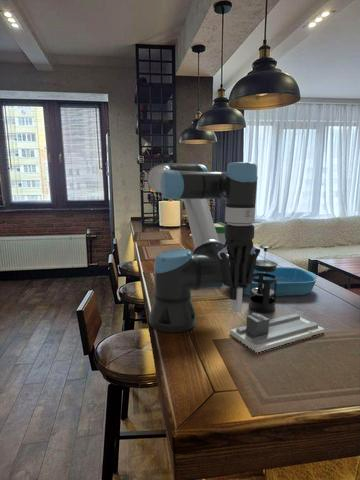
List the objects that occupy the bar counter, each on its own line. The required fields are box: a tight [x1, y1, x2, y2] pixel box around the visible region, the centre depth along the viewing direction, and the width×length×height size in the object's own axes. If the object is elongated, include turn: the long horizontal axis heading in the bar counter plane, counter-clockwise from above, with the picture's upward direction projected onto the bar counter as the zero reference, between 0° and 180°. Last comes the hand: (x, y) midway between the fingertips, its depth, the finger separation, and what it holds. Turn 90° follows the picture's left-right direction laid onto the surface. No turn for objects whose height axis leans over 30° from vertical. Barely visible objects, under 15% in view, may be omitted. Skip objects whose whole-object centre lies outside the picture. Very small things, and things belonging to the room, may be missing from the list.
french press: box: [248, 244, 279, 314], centre depth 112 cm, size 12×9×23 cm
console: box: [229, 312, 325, 354], centre depth 95 cm, size 26×12×2 cm, turn 117°
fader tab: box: [245, 312, 270, 338], centre depth 91 cm, size 4×4×6 cm
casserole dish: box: [244, 266, 318, 297], centre depth 135 cm, size 37×22×7 cm, turn 92°
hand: (236, 309), depth 86 cm, fingers closed
